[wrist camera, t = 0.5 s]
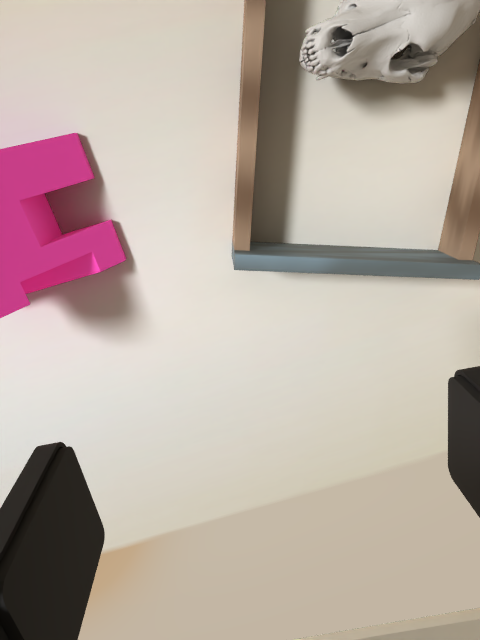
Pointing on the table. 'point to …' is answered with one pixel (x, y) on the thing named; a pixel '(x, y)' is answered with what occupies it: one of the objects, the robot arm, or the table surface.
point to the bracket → (45, 222)
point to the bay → (447, 262)
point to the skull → (385, 38)
